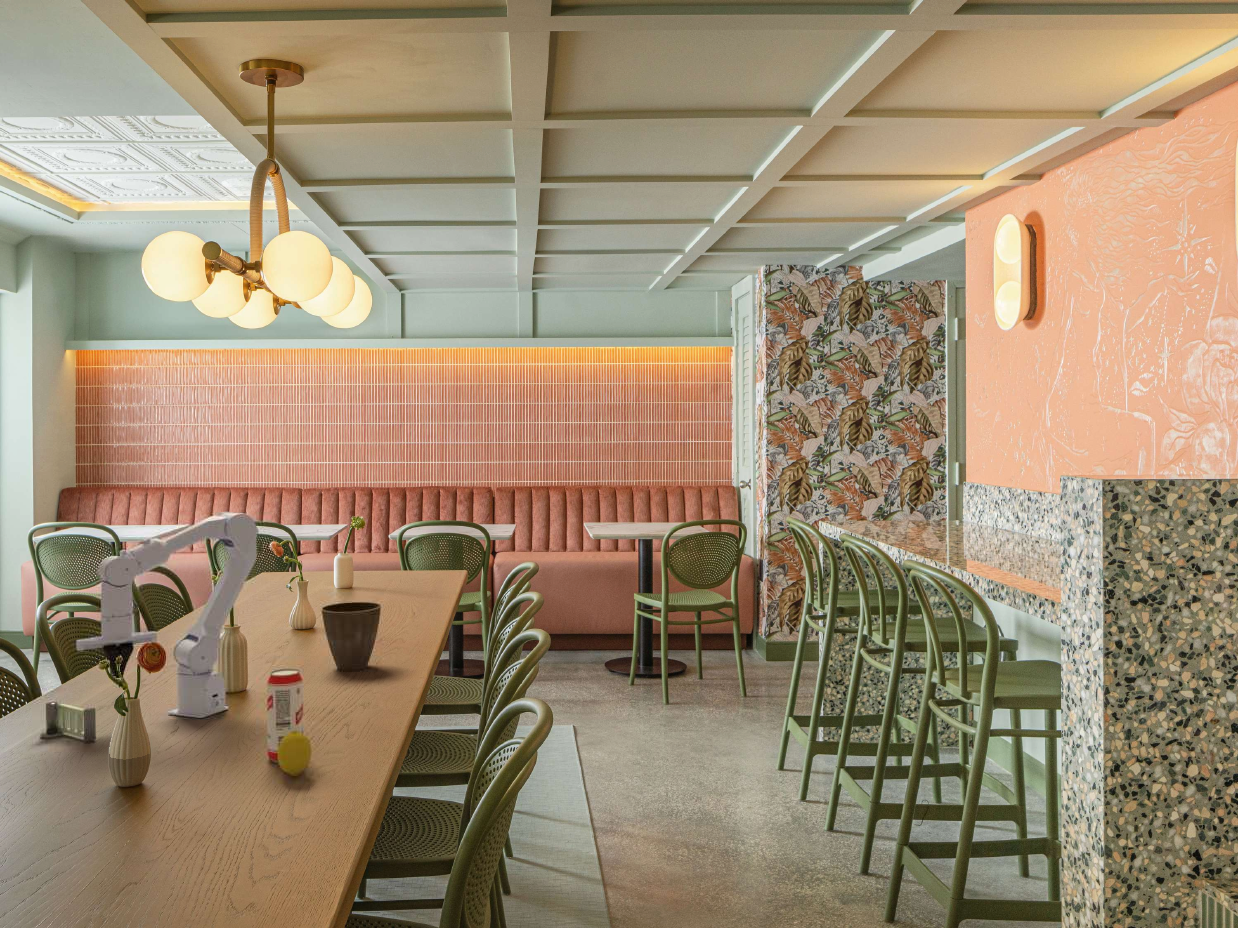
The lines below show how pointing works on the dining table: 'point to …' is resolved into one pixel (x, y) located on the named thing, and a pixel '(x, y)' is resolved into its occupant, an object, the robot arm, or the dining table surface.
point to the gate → (89, 721)
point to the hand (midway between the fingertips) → (117, 680)
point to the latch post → (51, 722)
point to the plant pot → (351, 632)
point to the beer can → (283, 707)
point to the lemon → (294, 753)
